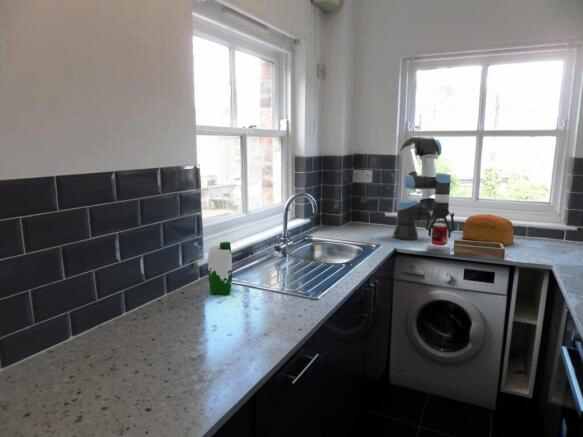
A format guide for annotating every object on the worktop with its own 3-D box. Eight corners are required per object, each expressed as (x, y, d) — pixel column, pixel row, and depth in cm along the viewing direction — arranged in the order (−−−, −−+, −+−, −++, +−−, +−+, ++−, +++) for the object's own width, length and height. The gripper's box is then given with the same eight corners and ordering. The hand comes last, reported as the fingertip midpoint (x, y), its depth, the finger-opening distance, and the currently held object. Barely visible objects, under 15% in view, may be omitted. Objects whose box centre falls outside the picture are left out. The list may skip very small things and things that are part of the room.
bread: (471, 235, 266) (473, 210, 263) (515, 242, 247) (518, 216, 244) (459, 238, 255) (461, 213, 253) (504, 246, 236) (507, 219, 233)
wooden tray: (453, 248, 232) (454, 239, 231) (501, 252, 224) (501, 243, 223) (453, 254, 220) (454, 245, 219) (504, 258, 211) (505, 249, 210)
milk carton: (231, 296, 159) (230, 245, 155) (208, 296, 158) (206, 246, 154) (233, 288, 167) (231, 240, 164) (210, 288, 167) (208, 240, 163)
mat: (427, 245, 237) (427, 245, 237) (449, 247, 233) (449, 247, 233) (426, 251, 224) (426, 251, 224) (449, 253, 220) (450, 253, 220)
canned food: (444, 242, 231) (445, 223, 229) (447, 245, 223) (449, 225, 221) (430, 242, 232) (431, 222, 230) (433, 245, 224) (434, 225, 222)
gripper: (421, 201, 224) (419, 242, 228) (462, 203, 217) (459, 245, 221) (422, 200, 231) (419, 239, 235) (461, 201, 224) (458, 242, 228)
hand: (438, 242), depth 228 cm, fingers closed on canned food, 8 cm apart
